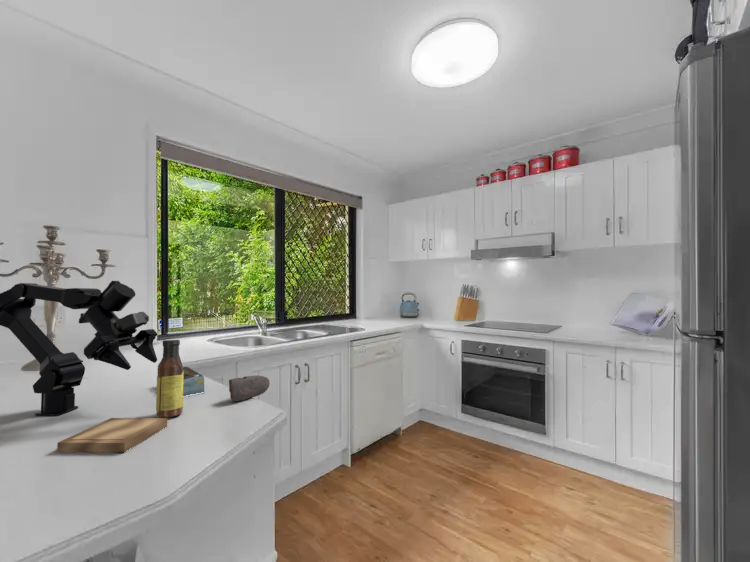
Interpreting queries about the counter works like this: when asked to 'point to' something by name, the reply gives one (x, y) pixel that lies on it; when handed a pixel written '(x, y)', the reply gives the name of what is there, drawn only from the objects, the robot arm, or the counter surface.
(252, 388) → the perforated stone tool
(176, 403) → the sauce bottle
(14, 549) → the counter surface
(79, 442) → the podium
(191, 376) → the beverage carton
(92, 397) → the counter surface
